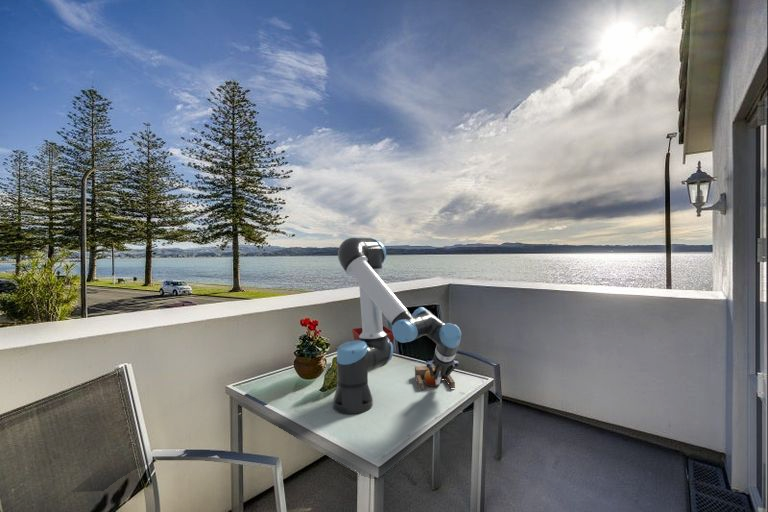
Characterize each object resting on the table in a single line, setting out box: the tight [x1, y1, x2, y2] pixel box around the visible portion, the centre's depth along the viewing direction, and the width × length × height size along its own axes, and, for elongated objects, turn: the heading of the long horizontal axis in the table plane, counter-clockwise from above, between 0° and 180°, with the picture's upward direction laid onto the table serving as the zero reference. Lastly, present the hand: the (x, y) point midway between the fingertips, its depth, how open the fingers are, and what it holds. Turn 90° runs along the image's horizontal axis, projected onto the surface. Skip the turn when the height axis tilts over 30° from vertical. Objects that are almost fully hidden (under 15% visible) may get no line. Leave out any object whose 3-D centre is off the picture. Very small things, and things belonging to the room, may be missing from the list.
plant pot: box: [351, 325, 395, 346], centre depth 179 cm, size 19×19×17 cm
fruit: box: [423, 368, 443, 387], centre depth 146 cm, size 8×8×8 cm
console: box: [414, 365, 446, 380], centre depth 153 cm, size 15×5×5 cm, turn 92°
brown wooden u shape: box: [415, 374, 456, 391], centre depth 145 cm, size 15×10×3 cm
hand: (437, 381), depth 141 cm, fingers closed
